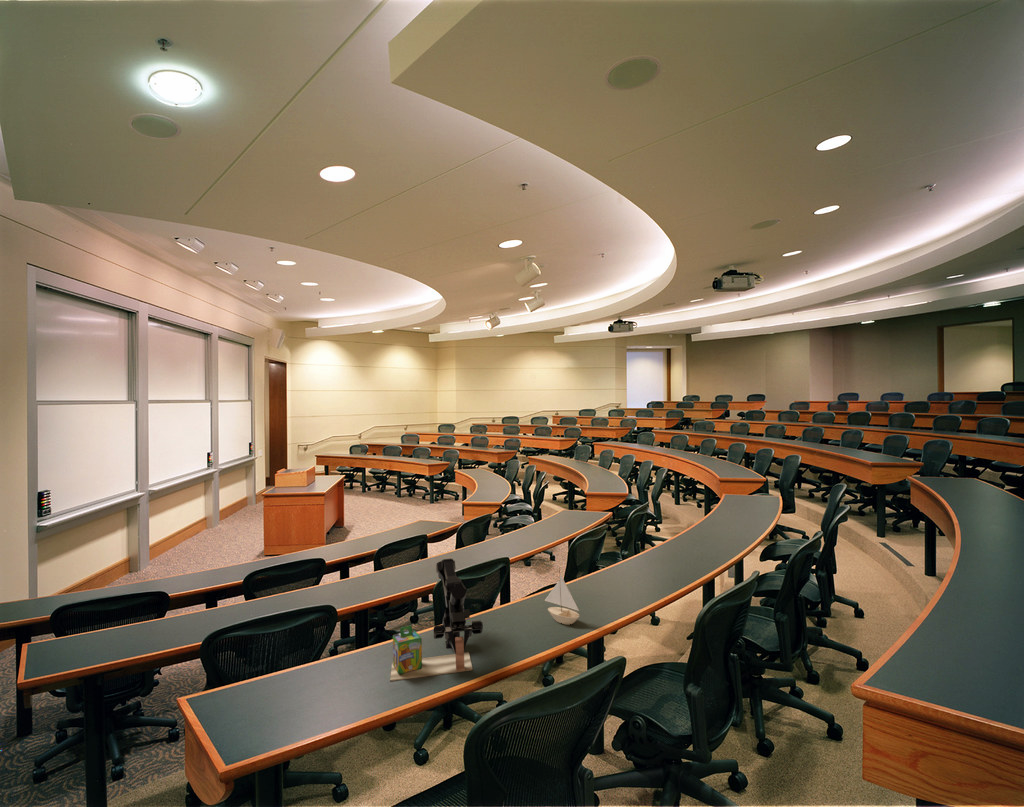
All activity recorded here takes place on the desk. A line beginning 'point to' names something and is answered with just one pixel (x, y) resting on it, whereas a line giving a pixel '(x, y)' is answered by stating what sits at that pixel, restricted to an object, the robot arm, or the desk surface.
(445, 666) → the birch strip
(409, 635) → the chalk box
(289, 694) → the desk surface
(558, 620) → the toy sailboat
